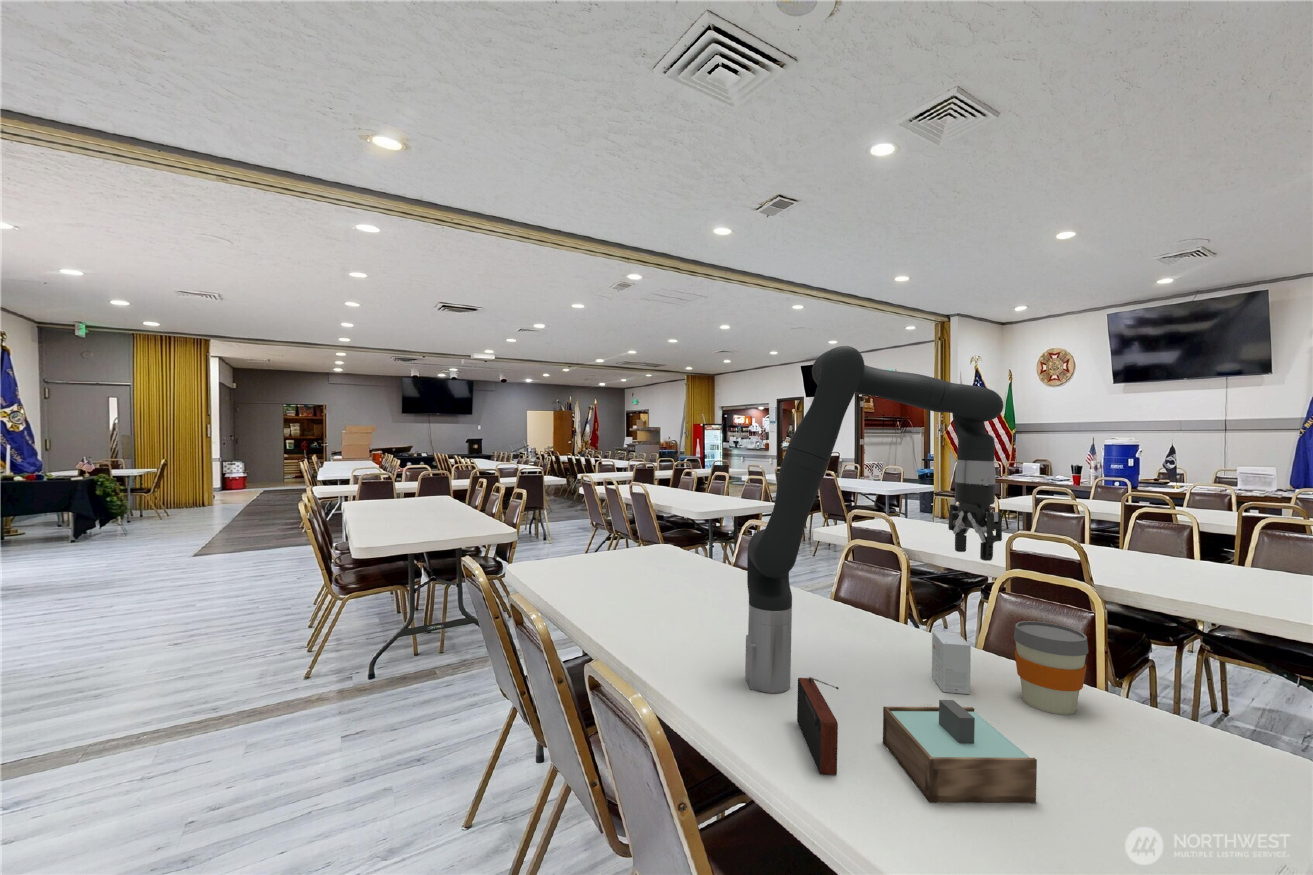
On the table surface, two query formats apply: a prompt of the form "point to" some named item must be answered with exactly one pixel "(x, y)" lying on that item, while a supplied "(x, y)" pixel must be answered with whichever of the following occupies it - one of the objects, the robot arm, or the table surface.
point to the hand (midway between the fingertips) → (972, 555)
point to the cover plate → (949, 745)
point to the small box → (951, 662)
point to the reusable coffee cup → (1050, 665)
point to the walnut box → (959, 769)
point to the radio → (817, 725)
